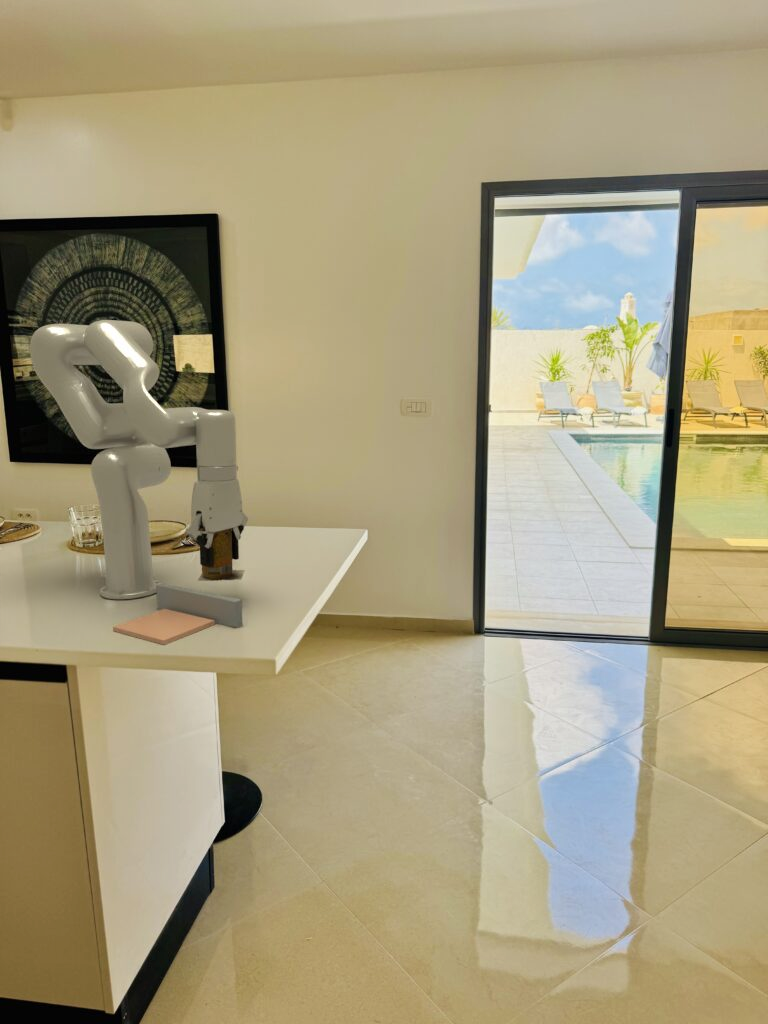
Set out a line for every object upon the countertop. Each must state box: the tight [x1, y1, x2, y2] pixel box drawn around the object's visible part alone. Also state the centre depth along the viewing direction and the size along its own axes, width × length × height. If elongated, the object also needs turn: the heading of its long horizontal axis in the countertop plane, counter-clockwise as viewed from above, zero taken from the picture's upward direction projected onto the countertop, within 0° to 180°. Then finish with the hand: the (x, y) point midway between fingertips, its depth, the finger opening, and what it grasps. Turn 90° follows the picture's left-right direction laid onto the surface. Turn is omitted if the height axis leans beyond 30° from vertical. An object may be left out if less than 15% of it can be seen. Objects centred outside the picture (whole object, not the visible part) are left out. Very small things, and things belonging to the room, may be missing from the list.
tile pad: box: [112, 609, 216, 646], centre depth 134 cm, size 14×12×1 cm
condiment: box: [197, 529, 245, 582], centre depth 145 cm, size 7×8×12 cm
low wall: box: [156, 583, 244, 629], centre depth 140 cm, size 22×2×5 cm, turn 57°
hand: (219, 561), depth 145 cm, fingers closed on condiment, 6 cm apart
